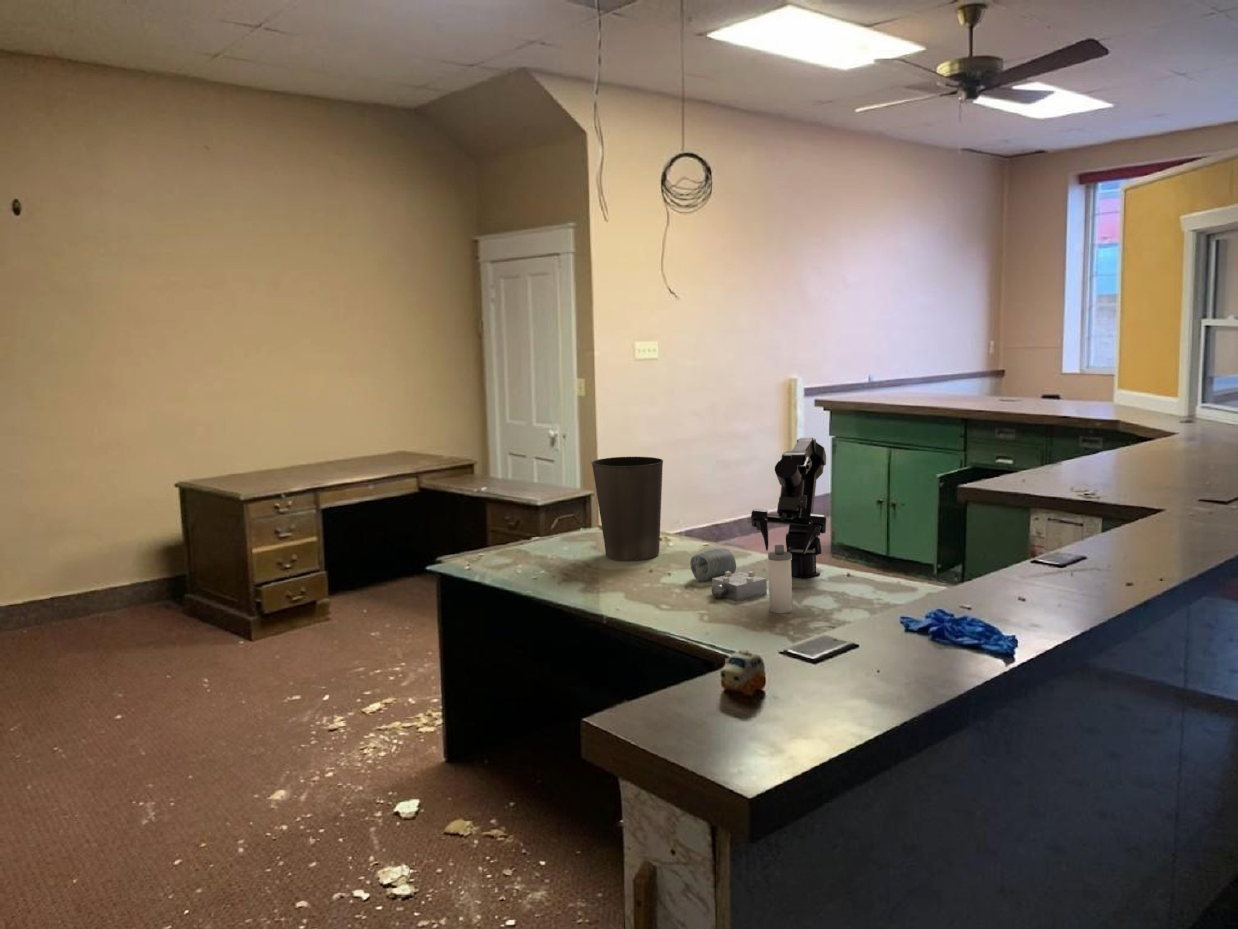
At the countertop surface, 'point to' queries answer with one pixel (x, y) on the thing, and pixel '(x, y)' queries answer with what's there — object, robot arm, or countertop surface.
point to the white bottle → (780, 580)
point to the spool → (712, 564)
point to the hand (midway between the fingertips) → (785, 551)
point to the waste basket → (629, 505)
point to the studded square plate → (739, 586)
